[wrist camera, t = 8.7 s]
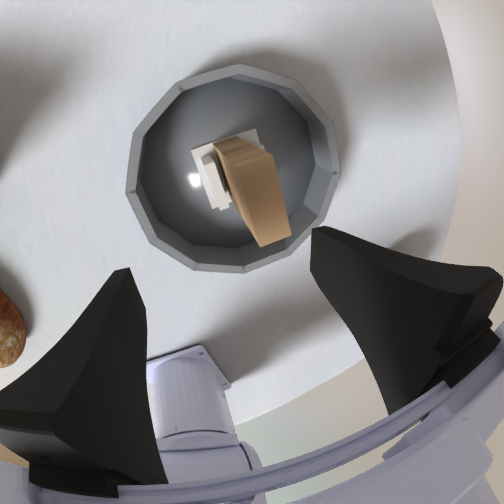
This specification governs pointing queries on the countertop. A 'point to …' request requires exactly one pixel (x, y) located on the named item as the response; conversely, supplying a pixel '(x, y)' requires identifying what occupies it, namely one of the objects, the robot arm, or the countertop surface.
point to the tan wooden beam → (254, 188)
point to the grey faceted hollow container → (209, 173)
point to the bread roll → (10, 332)
